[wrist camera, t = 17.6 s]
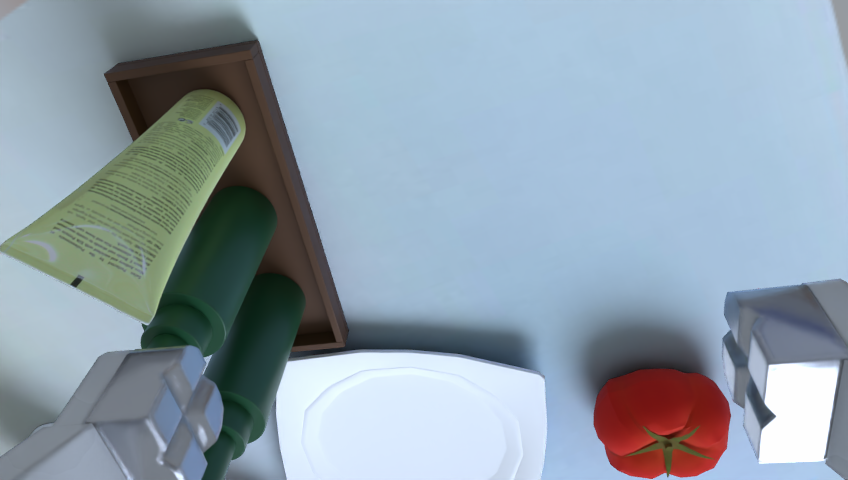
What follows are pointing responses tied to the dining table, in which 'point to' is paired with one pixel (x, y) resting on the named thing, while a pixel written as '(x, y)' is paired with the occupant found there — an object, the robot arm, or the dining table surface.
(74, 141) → the dining table surface
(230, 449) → the bottle
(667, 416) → the tomato
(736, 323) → the robot arm
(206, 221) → the bottle
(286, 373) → the plate
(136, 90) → the tray
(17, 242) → the tube
